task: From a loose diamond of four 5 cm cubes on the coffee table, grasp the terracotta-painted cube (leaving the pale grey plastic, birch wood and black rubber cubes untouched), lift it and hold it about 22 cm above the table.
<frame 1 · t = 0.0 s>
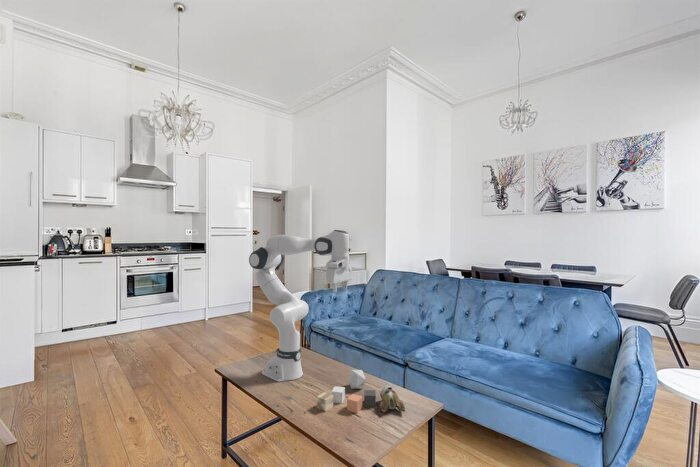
hand: (340, 290, 157), 48 cm above the table, fingers open, 8 cm apart
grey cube: (338, 400, 145), on the table
black cube: (369, 404, 142), on the table
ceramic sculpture: (390, 407, 140), on the table
die: (356, 387, 157), on the table
birch cube: (325, 407, 139), on the table
terracotta cube: (354, 409, 138), on the table
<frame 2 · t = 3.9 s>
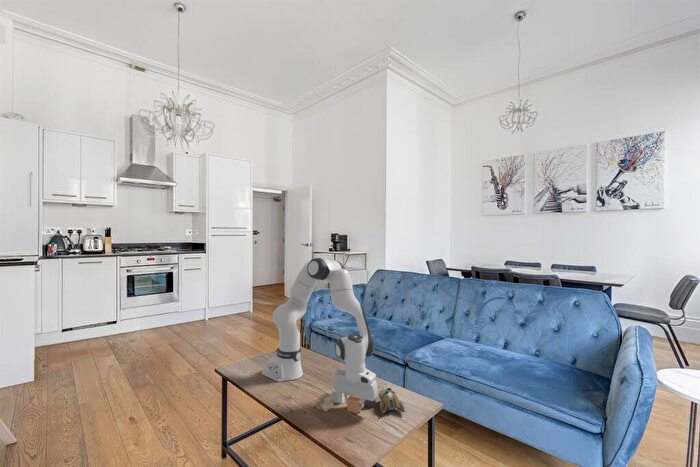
hand: (354, 405, 138), 2 cm above the table, fingers closed on terracotta cube, 5 cm apart
terracotta cube: (354, 408, 138), on the table, touching gripper
everything else where it was.
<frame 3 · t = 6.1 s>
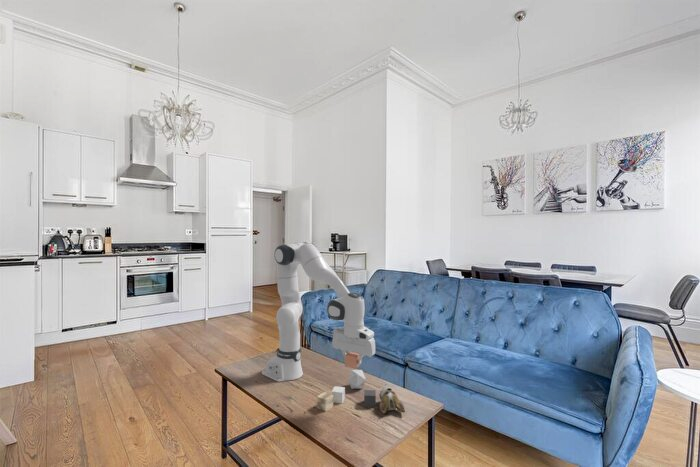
hand: (352, 361, 140), 19 cm above the table, fingers closed on terracotta cube, 5 cm apart
terracotta cube: (352, 365, 140), point 18 cm above the table, touching gripper
everything else where it was.
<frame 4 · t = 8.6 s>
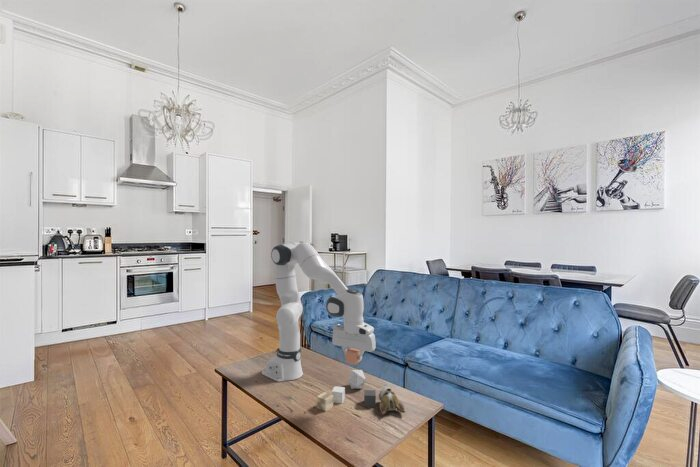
hand: (353, 357, 141), 21 cm above the table, fingers closed on terracotta cube, 5 cm apart
terracotta cube: (353, 361, 141), point 19 cm above the table, touching gripper
at the end: the gripper is holding terracotta cube; terracotta cube point 19.5 cm above the table; black cube moved 0.1 cm from its start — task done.
